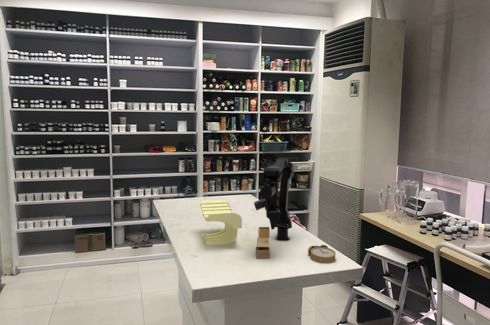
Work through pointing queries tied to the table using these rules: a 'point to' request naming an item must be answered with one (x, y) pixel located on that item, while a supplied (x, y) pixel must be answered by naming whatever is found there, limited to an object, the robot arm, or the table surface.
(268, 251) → the walnut block
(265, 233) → the grey-faced wooden cube
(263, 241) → the oak block
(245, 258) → the table surface
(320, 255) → the alarm clock
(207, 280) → the table surface
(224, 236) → the slatted curved stool
